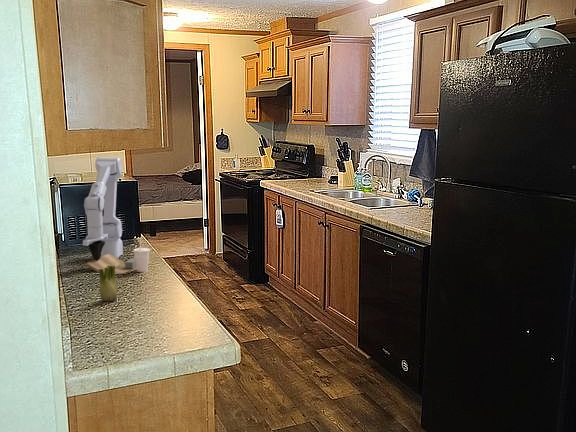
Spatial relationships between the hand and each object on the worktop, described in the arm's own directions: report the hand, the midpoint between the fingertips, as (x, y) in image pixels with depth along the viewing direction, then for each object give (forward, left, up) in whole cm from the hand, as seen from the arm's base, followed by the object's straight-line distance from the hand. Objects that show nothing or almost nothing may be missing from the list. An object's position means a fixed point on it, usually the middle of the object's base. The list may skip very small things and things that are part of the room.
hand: (96, 259), depth 217 cm
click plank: (-2, +2, -3) cm, 4 cm away
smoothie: (-1, +20, -5) cm, 20 cm away
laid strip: (-2, +11, -4) cm, 12 cm away
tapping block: (-5, +13, -3) cm, 14 cm away
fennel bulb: (+32, +25, -5) cm, 41 cm away
